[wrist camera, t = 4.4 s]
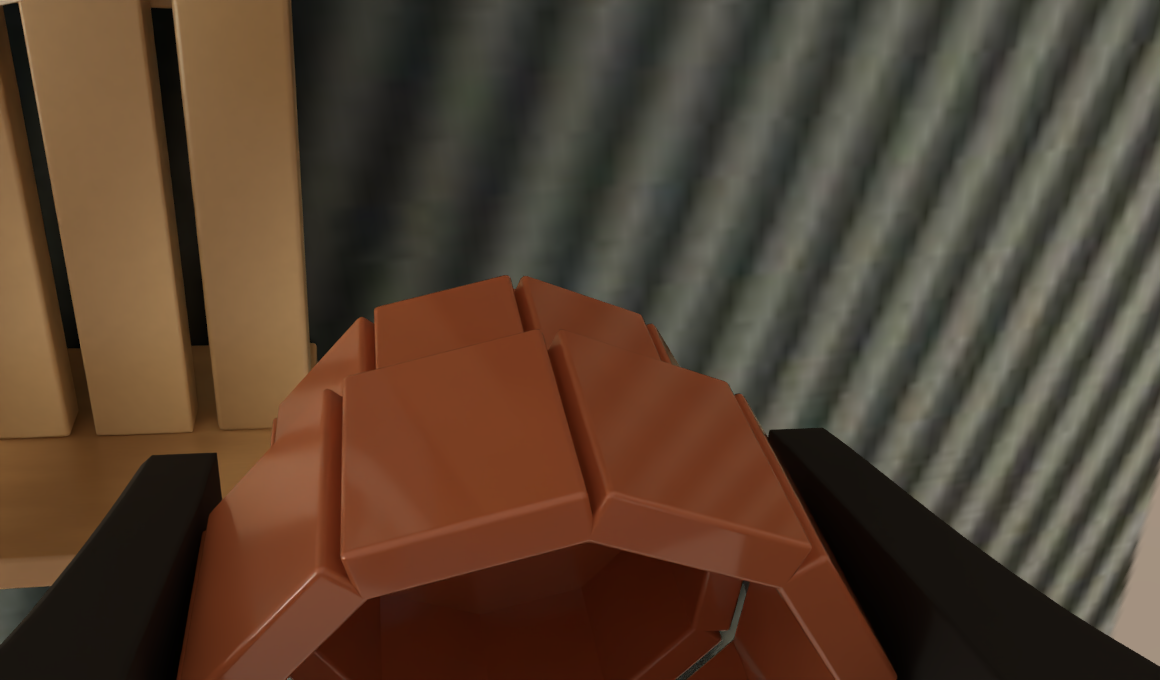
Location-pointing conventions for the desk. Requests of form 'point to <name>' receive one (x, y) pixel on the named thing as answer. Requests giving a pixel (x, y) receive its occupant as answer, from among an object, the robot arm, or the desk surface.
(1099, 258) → the desk surface
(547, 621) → the terracotta bowl
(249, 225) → the bowl rack
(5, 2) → the cream bowl
